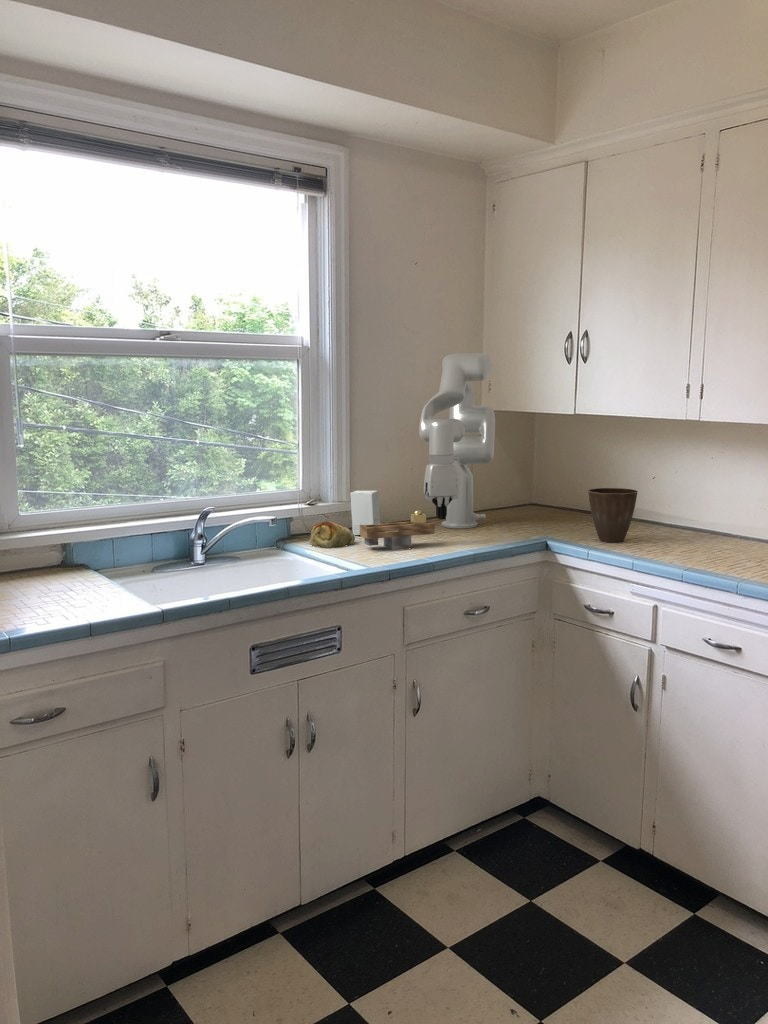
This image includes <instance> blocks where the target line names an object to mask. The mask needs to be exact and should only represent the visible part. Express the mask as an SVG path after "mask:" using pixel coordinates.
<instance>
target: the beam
mask: <svg viewBox="0 0 768 1024" xmlns="http://www.w3.org/2000/svg"><path fill="white" fill-rule="evenodd" d="M435 527H436V525H435V522H433V521H429V520H427V519H426V523H420V524H411V521H404V522H403V521H401V522H389V523H388V522H387V523H380V524H372V525H360V536H359V537H363V538H364V545H367V546H369V547H370V546H371V547H372V546H379V539H383V546H384V547H385V546H386V547H385V548H387V549H389V548H390V549H389V550H391V549H392V551H400V550H399V549H403V550H410V549H409V548H411V549H412V536H424V535H434V534H436V533H435V531H436V530H435Z"/></svg>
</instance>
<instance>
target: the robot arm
mask: <svg viewBox="0 0 768 1024" xmlns="http://www.w3.org/2000/svg"><path fill="white" fill-rule="evenodd" d="M493 366H494V365H493V359H492V357H491V355H490V354H489V353H483V352H482V353H480V352H479V353H452V354H449V355H445V357H443V358H442V363H441V367H442V372H441V379H440V385H439V390H438V392H437V393H436V394H435V395H433V396H432V397H431V398H430V399H429V400H428V401H427V402H426V403H425V405H424V407H423V408H422V410H421V414H420V420H419V425H418V426H419V427H418V432H419V433H418V434H419V435H418V436H419V438H420V439H421V441H423V442H426V443H429V447H428V448H429V449H428V450H429V452H428V453H429V455H428V456H429V457H428V460H429V461H428V462H429V463H428V464H426V466H425V471H424V472H425V473H424V479H423V480H424V481H423V494H424V495H425V497H424V500H425V501H427V502H431V503H432V504H434V506H435V515H436V518H437V519H438V520H444V521H442V522H441V526H442V527H443V528H448V529H472V528H476V527H477V526H478V522H477V521H479V520H480V521H481V520H486V517H487V516H486V514H485V513H475V512H474V476H473V472H471V470H470V468H469V467H468V466H467V465H471V464H472V465H475V464H476V465H486V464H490V463H491V462H493V461H494V460H493V459H494V456H495V434H496V415H495V411H494V409H493V408H492V407H491V406H489V405H475V395H476V394H475V391H474V388H473V387H472V386H471V384H469V382H484V381H486V380H487V379H489V378H490V377H491V374H492V373H493ZM448 409H449V415H448V416H449V418H434V417H435V416H436V415H438V414H439V413H440V412H443V411H445V410H448ZM465 434H480V435H481V436H480V435H479V436H476V435H475V436H470V435H465Z"/></svg>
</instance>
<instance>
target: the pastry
mask: <svg viewBox="0 0 768 1024" xmlns="http://www.w3.org/2000/svg"><path fill="white" fill-rule="evenodd" d="M355 541H356V538H355V535H353V530H350V529H349V528H348V527H345V526H344V525H340V524H338V523H335V522H333V521H328V520H326V521H321V522H317V523H315V525H314V526H313V528H312V530H311V533H310V538H309V542H308V543H309V546H310V545H312V546H311V547H313V546H318V548H325V547H326V548H325V549H328V548H329V549H331V548H333V547H334V548H341V547H346V545H347V546H353V545H354V544H355Z"/></svg>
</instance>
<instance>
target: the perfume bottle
mask: <svg viewBox="0 0 768 1024" xmlns="http://www.w3.org/2000/svg"><path fill="white" fill-rule="evenodd" d="M426 520H427V514H426V513H423V510H414V513H410V522H411V524H420V523H426Z"/></svg>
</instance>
